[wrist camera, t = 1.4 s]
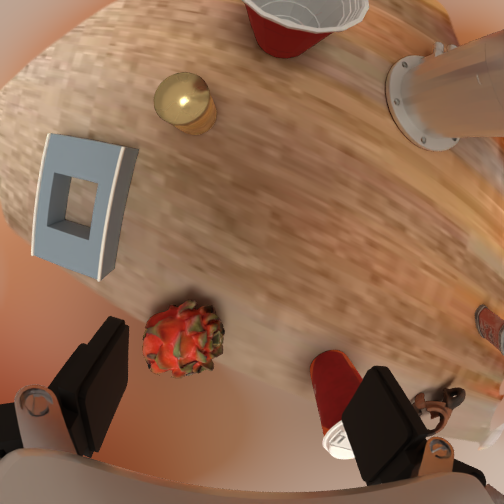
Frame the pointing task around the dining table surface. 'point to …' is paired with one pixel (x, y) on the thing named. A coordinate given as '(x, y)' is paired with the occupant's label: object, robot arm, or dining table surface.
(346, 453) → the paper cup
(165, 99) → the brass flanged cylinder
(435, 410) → the pottery mug
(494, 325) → the lighter
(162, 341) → the dragon fruit
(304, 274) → the dining table surface
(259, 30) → the plastic cup
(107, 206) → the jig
